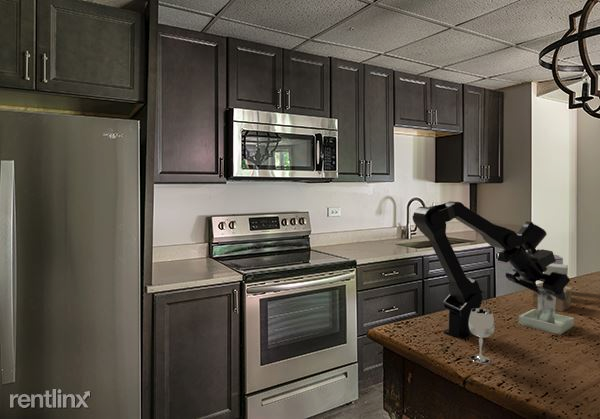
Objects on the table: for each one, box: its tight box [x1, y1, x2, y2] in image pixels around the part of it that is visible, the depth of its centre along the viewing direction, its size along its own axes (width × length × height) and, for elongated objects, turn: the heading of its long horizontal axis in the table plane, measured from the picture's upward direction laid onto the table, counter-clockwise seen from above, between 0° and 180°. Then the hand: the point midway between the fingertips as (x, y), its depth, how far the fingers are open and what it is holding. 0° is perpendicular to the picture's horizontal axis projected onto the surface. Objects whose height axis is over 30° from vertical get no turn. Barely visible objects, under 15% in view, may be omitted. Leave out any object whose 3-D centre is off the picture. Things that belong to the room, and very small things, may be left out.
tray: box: [518, 308, 575, 336], centre depth 119 cm, size 11×11×2 cm
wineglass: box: [468, 308, 496, 365], centre depth 95 cm, size 6×6×12 cm
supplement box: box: [543, 263, 569, 286], centre depth 148 cm, size 7×7×13 cm
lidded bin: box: [532, 281, 574, 312], centre depth 138 cm, size 10×10×8 cm
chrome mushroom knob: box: [537, 285, 557, 324], centre depth 119 cm, size 5×5×11 cm
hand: (550, 295), depth 119 cm, fingers open, 9 cm apart
